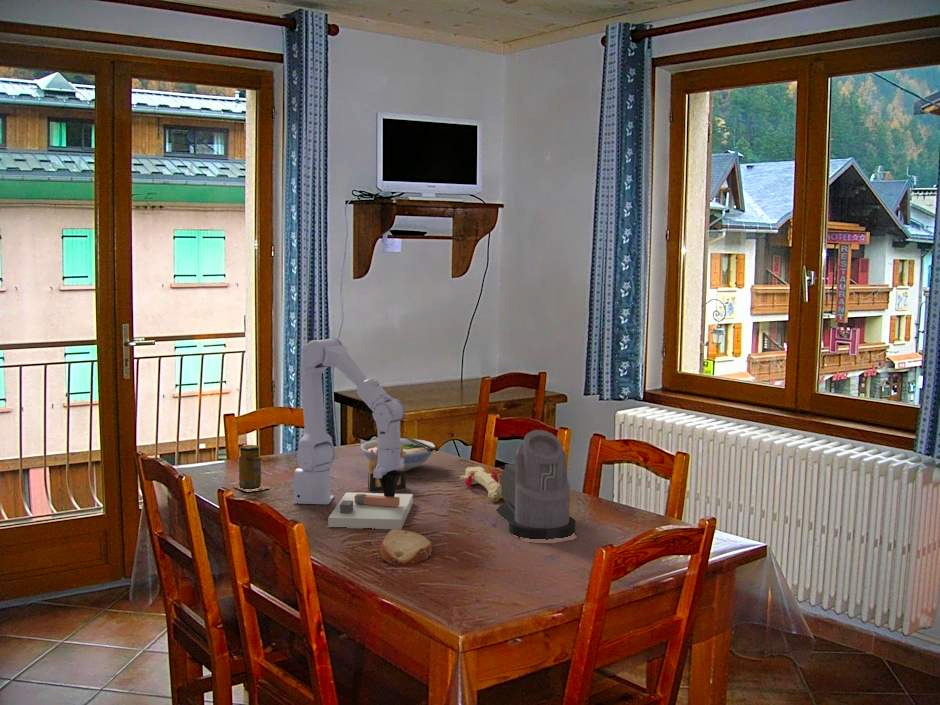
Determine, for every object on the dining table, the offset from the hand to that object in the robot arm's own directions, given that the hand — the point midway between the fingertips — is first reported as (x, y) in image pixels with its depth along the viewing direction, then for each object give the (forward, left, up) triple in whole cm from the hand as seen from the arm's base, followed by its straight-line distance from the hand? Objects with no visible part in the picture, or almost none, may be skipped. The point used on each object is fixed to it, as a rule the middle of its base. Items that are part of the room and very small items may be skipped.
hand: (389, 499), depth 258 cm
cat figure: (+24, +25, -4) cm, 35 cm away
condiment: (-42, +22, -4) cm, 48 cm away
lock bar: (-3, -1, -1) cm, 3 cm away
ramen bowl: (-4, +49, -4) cm, 49 cm away
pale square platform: (-4, -1, -4) cm, 6 cm away
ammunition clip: (-4, +25, -4) cm, 26 cm away
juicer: (+37, -7, -4) cm, 38 cm away
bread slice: (+7, -29, -5) cm, 30 cm away
